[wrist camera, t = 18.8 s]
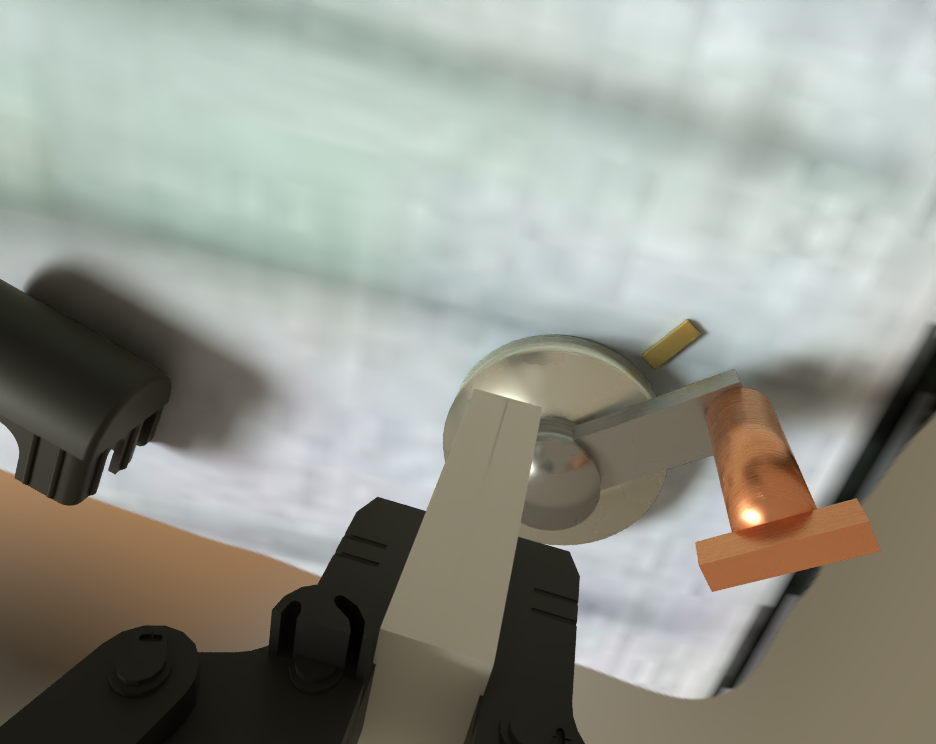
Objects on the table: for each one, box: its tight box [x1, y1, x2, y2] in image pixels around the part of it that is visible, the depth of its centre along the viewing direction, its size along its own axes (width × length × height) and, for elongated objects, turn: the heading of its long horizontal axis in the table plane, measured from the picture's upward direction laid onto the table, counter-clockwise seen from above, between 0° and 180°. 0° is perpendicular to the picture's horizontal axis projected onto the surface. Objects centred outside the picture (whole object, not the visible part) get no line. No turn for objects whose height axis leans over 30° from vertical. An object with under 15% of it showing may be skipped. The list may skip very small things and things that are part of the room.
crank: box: [521, 369, 880, 592], centre depth 24 cm, size 12×4×10 cm, turn 119°
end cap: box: [0, 279, 171, 506], centre depth 32 cm, size 10×7×7 cm
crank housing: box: [443, 320, 700, 545], centre depth 30 cm, size 10×12×2 cm
